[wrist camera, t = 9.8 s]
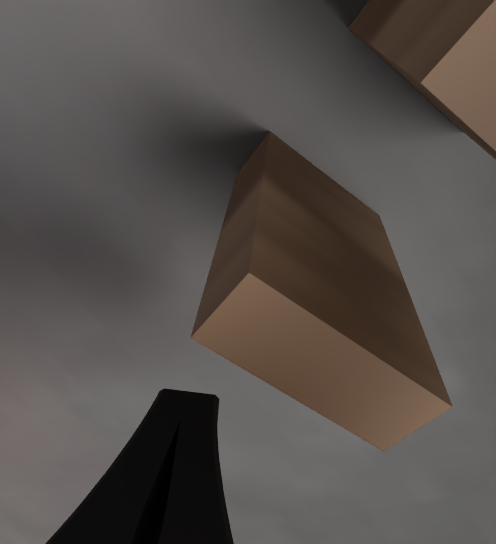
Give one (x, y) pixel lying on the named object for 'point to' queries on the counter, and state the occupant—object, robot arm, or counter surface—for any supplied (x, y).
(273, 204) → the domino
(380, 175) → the counter surface
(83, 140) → the counter surface
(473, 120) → the domino
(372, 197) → the counter surface
